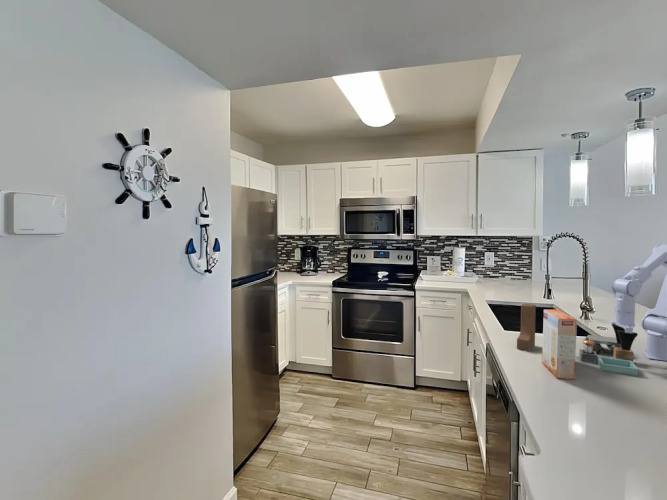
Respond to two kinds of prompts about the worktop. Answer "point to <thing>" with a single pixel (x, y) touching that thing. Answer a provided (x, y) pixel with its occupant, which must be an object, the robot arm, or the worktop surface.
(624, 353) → the block
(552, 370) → the cracker box
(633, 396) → the worktop surface
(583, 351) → the bracket
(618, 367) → the tray
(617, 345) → the trolley
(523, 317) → the wooden block
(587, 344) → the pin
